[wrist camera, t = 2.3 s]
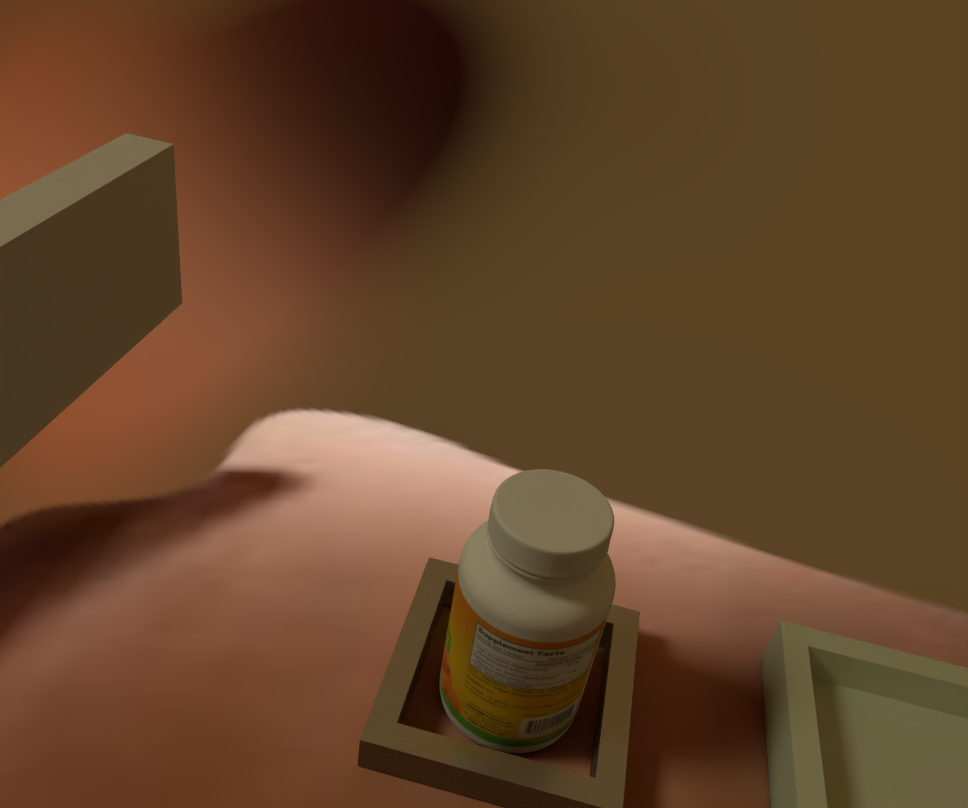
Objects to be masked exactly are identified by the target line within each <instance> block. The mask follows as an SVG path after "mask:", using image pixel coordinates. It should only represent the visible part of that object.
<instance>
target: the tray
mask: <svg viewBox="0 0 968 808" xmlns="http://www.w3.org/2000/svg"><path fill="white" fill-rule="evenodd" d="M761 669H762V685H763V700H764V716H765V732H766V747H767V763H768V779H769V794H770V808H968V668H965V667H961V666H957V665H953V664H949V663H945V662H941V661H938V660H934V659H930V658H926V657H922V656H918V655H914V654H910V653H906V652H902V651H898V650H894V649H890V648H886V647H883V646H879V645H875V644H871V643H867V642H863V641H859V640H855V639H851V638H847V637H843V636H839V635H835V634H832V633H828V632H824V631H820V630H816V629H812V628H808V627H804V626H800V625H796V624H792V623H788V622H784V621H780V623H779V625H778V627H777V629H776V631H775V633H774V635H773V637H772V639H771V641H770V643H769V645H768V647H767V649H766V651H765V653H764V655H763V657H762V659H761Z"/></svg>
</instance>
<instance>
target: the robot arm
mask: <svg viewBox="0 0 968 808" xmlns="http://www.w3.org/2000/svg"><path fill="white" fill-rule="evenodd" d="M179 258H180V256H179V239H178V219H177V201H176V183H175V166H174V146H173V144H171V143H166V142H162V141H157V140H153V139H149V138H145V137H140V136H136V135H132V134H127V133H126V134H124V135H122V136H120V137H118V138H117V139H115V140H113V141H111V142H109V143H107V144H105V145H103V146H101V147H100V148H98V149H96V150H94V151H92V152H90V153H88V154H86V155H84V156H82V157H81V158H79V159H77V160H75V161H73V162H71V163H69V164H67V165H65V166H63V167H61V168H60V169H58V170H56V171H54V172H52V173H50V174H48V175H46V176H44V177H43V178H41V179H39V180H37V181H35V182H33V183H31V184H29V185H27V186H25V187H23V188H22V189H20V190H18V191H16V192H14V193H12V194H10V195H8V196H6V197H4V198H2V199H1V200H0V467H1V466H3V465H4V464H5V463H6V462H7V461H8V460H9V459H10V458H11V457H13V456H14V455H15V454H16V453H17V452H18V451H19V450H20V449H21V448H23V447H24V446H25V445H26V444H27V443H28V442H29V441H30V440H31V439H32V438H34V437H35V436H36V435H37V434H38V433H39V432H40V431H41V430H42V429H44V428H45V427H46V426H47V425H48V424H49V423H50V422H51V421H52V420H53V419H54V418H56V417H57V416H58V415H59V414H60V413H61V412H62V411H63V410H64V409H65V408H67V407H68V406H69V405H70V404H71V403H72V402H73V401H74V400H76V399H77V398H78V397H79V396H80V395H81V394H82V393H83V392H84V391H86V390H87V389H88V388H89V387H90V386H91V385H92V384H93V383H94V382H95V381H96V380H98V379H99V378H100V377H101V376H102V375H103V374H104V373H105V372H106V371H108V370H109V369H110V368H111V367H112V366H113V365H114V364H115V363H116V362H117V361H119V360H120V359H121V358H122V357H123V356H124V355H125V354H126V353H127V352H129V350H131V349H132V348H133V347H134V346H135V345H136V344H137V343H139V342H140V341H141V340H142V339H143V338H144V337H145V336H146V335H147V334H148V333H149V332H151V331H152V330H153V329H154V328H155V327H156V326H157V325H158V324H160V323H161V322H162V321H163V320H164V319H165V318H166V317H167V316H168V315H169V314H170V313H172V312H173V311H174V310H175V309H176V308H177V307H178V306H179V305H181V304H182V294H181V277H180V276H181V275H180V259H179Z"/></svg>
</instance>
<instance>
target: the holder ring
mask: <svg viewBox="0 0 968 808" xmlns="http://www.w3.org/2000/svg"><path fill="white" fill-rule="evenodd" d="M458 566H459V565H457V564H453V563H449V562H445V561H441V560H437V559H433V558H429V559H428V562H427V565H426V567H425V570H424V572H423V575H422V578H421V580H420V583H419V586H418V588H417V591H416V594H415V596H414V599H413V601H412V604H411V607H410V609H409V612H408V615H407V617H406V620H405V622H404V625H403V628H402V630H401V633H400V636H399V638H398V641H397V644H396V646H395V649H394V651H393V654H392V657H391V659H390V662H389V665H388V667H387V670H386V673H385V675H384V678H383V680H382V683H381V686H380V688H379V691H378V694H377V696H376V699H375V701H374V704H373V707H372V709H371V712H370V715H369V717H368V720H367V723H366V725H365V728H364V730H363V733H362V736H361V738H360V744H359V755H358V766H362V767H365V768H369V769H372V770H376V771H379V772H383V773H386V774H390V775H393V776H397V777H400V778H404V779H408V780H411V781H415V782H418V783H422V784H425V785H429V786H432V787H436V788H439V789H443V790H446V791H450V792H453V793H457V794H460V795H464V796H468V797H471V798H475V799H478V800H482V801H485V802H489V803H492V804H496V805H499V806H503V807H506V808H623V800H624V789H625V777H626V765H627V754H628V742H629V731H630V719H631V707H632V696H633V684H634V673H635V661H636V649H637V638H638V626H639V615H640V612H639V611H635V610H631V609H627V608H623V607H619V606H616V605H611V609H610V612H609V615H608V618H607V621H606V624H605V627H604V630H603V633H602V636H601V639H600V642H599V645H598V646H601V647H604V648H606V649H605V657H604V665H603V673H602V681H601V689H600V697H599V706H598V714H597V722H596V730H595V738H594V746H593V754H592V762H591V770H590V776H587V775H583V774H580V773H576V772H572V771H569V770H565V769H562V768H558V767H554V766H551V765H547V764H543V763H540V762H536V761H533V760H529V759H525V758H522V757H518V756H515V755H511V754H507V753H504V752H500V751H497V750H493V749H489V748H486V747H482V746H479V745H475V744H471V743H468V742H464V741H461V740H457V739H453V738H450V737H446V736H442V735H439V734H435V733H432V732H428V731H424V730H421V729H417V728H414V727H410V726H406V725H403V724H402V722H403V719H404V716H405V713H406V710H407V707H408V704H409V701H410V698H411V695H412V692H413V690H414V687H415V684H416V681H417V678H418V675H419V672H420V669H421V666H422V663H423V660H424V657H425V654H426V651H427V648H428V645H429V642H430V640H431V637H432V634H433V631H434V628H435V625H436V622H437V619H438V616H439V613H440V610H441V607H442V605H445V606H448V607H452V601H453V595H454V589H455V584H456V578H457V572H458Z"/></svg>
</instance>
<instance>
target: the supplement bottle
mask: <svg viewBox="0 0 968 808" xmlns="http://www.w3.org/2000/svg"><path fill="white" fill-rule="evenodd" d="M613 527H614V515H613V511H612V508H611V506H610V504H609V502H608V501H607V499H606V498H605V497H604V496H603V494H602V493H601V492H600V491H599V490H597V489H596V488H595V487H593V486H592V485H591V484H589V483H588V482H586V481H585V480H583V479H581V478H578V477H576V476H574V475H571V474H568V473H565V472H560V471H554V470H546V469H538V470H529V471H523V472H520V473H517V474H515V475H513V476H511V477H509V478H508V479H506V480H505V481H504V482H502V483H501V485H500V486H499V487H498V488H497V490H496V492H495V494H494V497H493V500H492V505H491V509H490V514H489V520H488V521H487V522H485V523H484V524H482V525H481V526H480V527H479V528H478V529H476V530H475V531H474V533H473V534H472V535H471V536H470V537H469V539H468V540H467V542H466V544H465V546H464V548H463V551H462V554H461V558H460V562H459V566H458V572H457V578H456V584H455V589H454V595H453V601H452V607H451V612H450V618H449V623H448V629H447V635H446V641H445V647H444V653H443V659H442V665H441V671H440V682H439V688H440V696H441V700H442V703H443V706H444V709H445V711H446V713H447V715H448V717H449V718H450V719H451V721H452V722H453V724H454V725H455V726H456V727H457V728H458V729H459V730H460V731H461V732H462V733H463V734H464V735H465V736H467V737H468V738H469V739H471V740H473V741H474V742H476V743H478V744H480V745H481V746H484V747H486V748H489V749H493V750H497V751H500V752H505V753H526V752H533V751H537V750H540V749H543V748H545V747H547V746H549V745H551V744H553V743H554V742H556V741H557V740H558V739H560V738H561V737H562V736H563V735H564V734H565V732H566V731H567V730H568V729H569V727H570V726H571V724H572V722H573V720H574V718H575V716H576V713H577V711H578V708H579V705H580V702H581V699H582V696H583V693H584V689H585V686H586V683H587V680H588V677H589V674H590V671H591V667H592V664H593V661H594V658H595V655H596V652H597V648H598V645H599V642H600V639H601V636H602V633H603V630H604V627H605V624H606V621H607V618H608V615H609V612H610V609H611V605H612V602H613V598H614V593H615V573H614V569H613V565H612V562H611V559H610V557H609V555H608V553H607V551H608V548H609V543H610V539H611V535H612V532H613Z"/></svg>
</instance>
